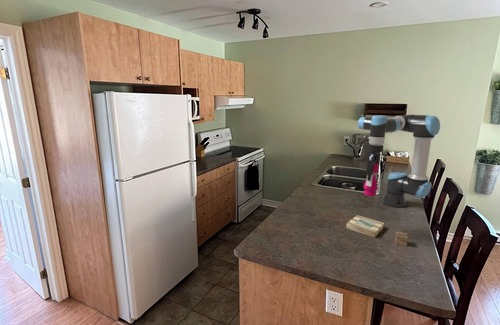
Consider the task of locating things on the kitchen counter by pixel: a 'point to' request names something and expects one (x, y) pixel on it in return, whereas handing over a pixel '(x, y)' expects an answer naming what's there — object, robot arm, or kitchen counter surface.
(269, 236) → the kitchen counter surface
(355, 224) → the base plate
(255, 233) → the kitchen counter surface
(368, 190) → the pepper mill
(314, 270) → the kitchen counter surface
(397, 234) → the block
